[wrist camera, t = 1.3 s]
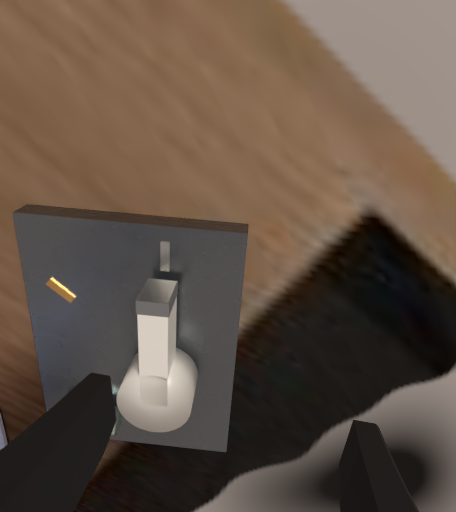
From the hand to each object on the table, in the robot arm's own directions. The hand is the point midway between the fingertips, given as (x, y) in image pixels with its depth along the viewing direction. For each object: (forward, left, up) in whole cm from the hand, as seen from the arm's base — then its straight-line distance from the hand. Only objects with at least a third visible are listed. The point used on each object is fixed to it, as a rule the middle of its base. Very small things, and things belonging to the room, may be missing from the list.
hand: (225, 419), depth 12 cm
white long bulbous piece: (-6, +4, -11) cm, 13 cm away
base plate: (-7, +6, -13) cm, 16 cm away
